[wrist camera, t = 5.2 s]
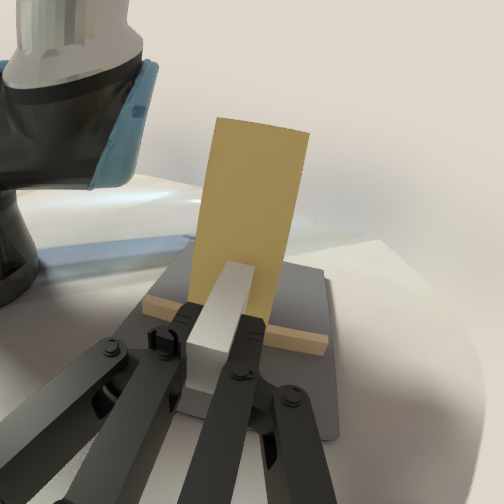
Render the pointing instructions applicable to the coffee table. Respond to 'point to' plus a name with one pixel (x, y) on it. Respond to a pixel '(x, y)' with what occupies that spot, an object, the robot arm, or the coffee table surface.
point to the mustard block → (247, 208)
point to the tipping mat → (275, 341)
